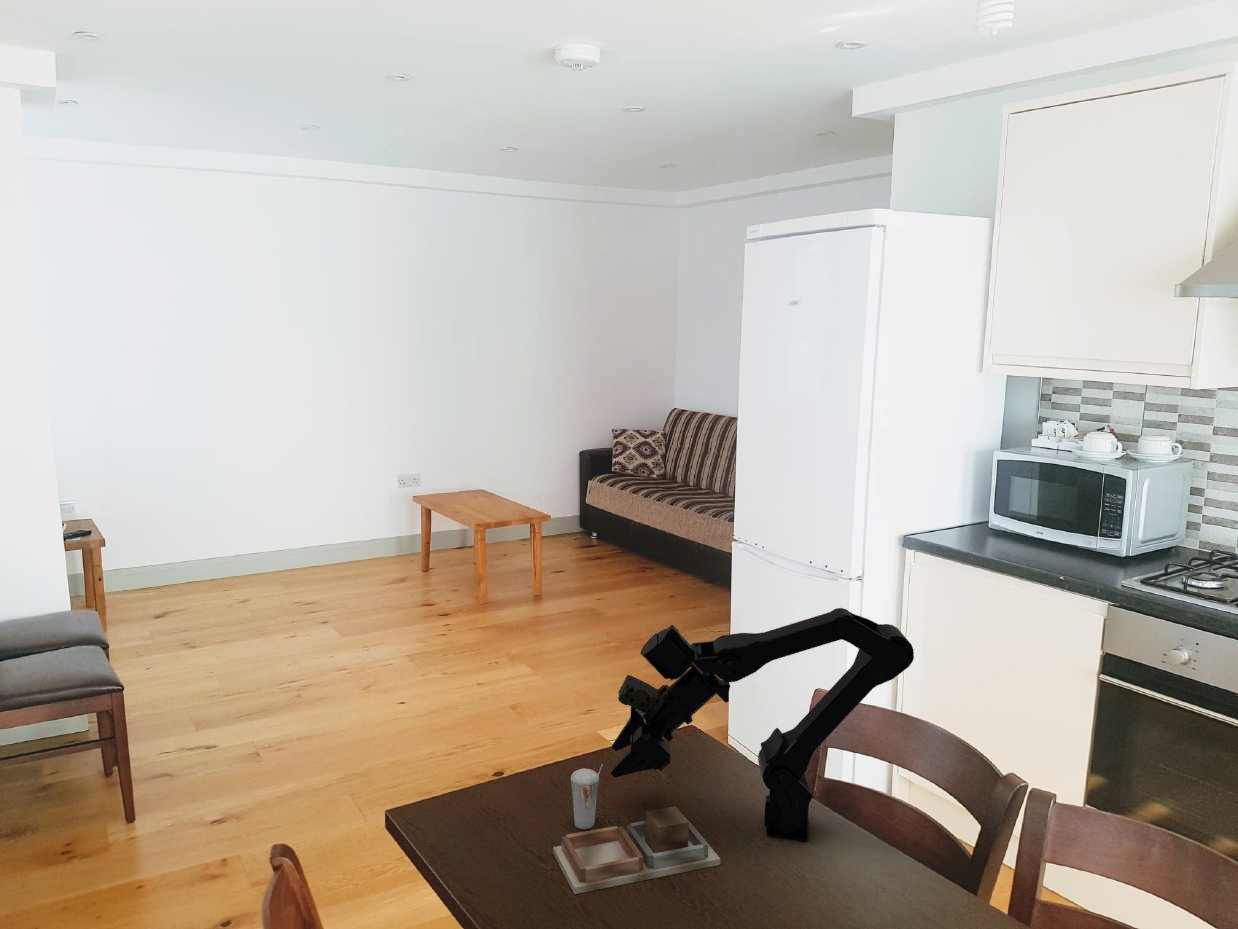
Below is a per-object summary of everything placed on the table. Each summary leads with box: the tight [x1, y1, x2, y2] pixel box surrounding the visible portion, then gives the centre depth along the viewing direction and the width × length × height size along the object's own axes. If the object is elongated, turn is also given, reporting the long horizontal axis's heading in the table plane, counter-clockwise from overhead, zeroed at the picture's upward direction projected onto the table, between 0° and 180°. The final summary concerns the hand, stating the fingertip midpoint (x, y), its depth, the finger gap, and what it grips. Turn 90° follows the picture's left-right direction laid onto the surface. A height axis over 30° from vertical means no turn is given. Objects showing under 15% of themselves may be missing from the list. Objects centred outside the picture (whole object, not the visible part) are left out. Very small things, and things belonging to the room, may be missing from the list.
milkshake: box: [570, 762, 604, 830], centre depth 150 cm, size 5×5×10 cm
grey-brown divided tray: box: [552, 805, 721, 895], centre depth 141 cm, size 23×11×6 cm, turn 110°
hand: (612, 761), depth 150 cm, fingers open, 9 cm apart
